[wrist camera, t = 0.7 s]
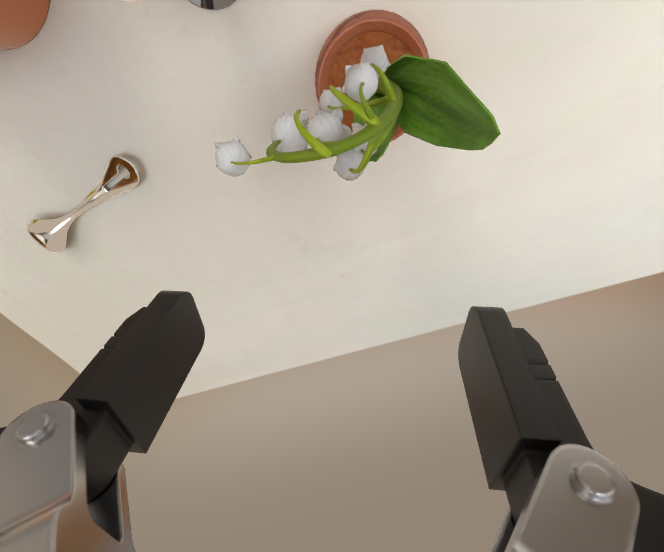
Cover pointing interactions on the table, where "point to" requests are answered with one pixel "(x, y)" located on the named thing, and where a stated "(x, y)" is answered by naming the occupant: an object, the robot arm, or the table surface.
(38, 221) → the silver elongated piece
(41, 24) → the copper pot
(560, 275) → the table surface
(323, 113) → the potted flower
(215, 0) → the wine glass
